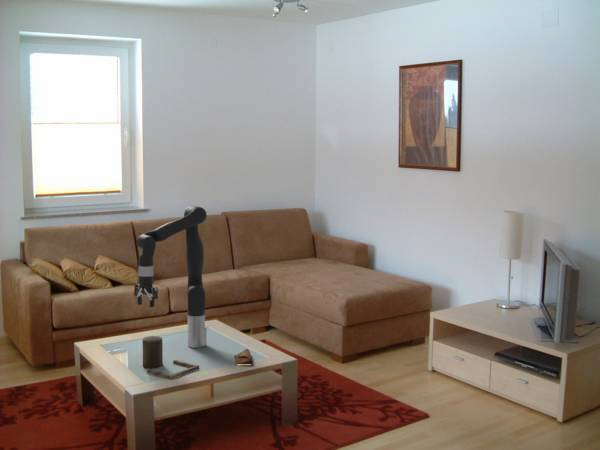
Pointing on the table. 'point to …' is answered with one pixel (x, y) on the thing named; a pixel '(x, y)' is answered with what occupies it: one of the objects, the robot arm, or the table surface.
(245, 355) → the sunglasses case
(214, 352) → the table surface
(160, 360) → the pillar candle
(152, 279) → the robot arm
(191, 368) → the wooden u-shaped frame
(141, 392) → the table surface
